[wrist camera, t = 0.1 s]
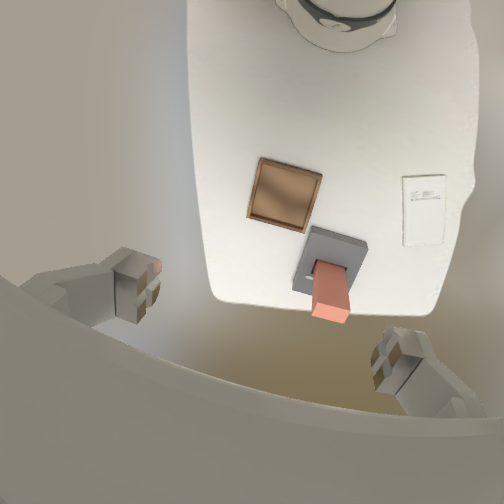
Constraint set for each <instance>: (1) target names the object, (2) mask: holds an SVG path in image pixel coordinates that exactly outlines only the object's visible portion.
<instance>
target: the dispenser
mask: <svg viewBox="0 0 504 504" xmlns="http://www.w3.org/2000/svg"><path fill="white" fill-rule="evenodd" d="M367 251H368V246H367V243H366V242H364V241H361V240H357V239H354V238H351V237H348V236H344V235H341V234H338V233H335V232H331V231H328V230H325V229H321V228H318V227H314V226H312V228H311V231H310V234H309V237H308V240H307V243H306V246H305V249H304V252H303V255H302V258H301V261H300V264H299V267H298V269H297V272H296V275H295V278H294V281H293V286H292V290H294V291H298V292H301V293H305V294H308V295H313V266H314V263H315V260H316V259H319V260H323V261H326V262H329V263H333V264H336V265H340V266H343V267H345V272H346V279H347V287H348V292H349V290H350V288H351V286H352V284H353V282H354V280H355V278H356V276H357V273H358V271H359V269H360V267H361V265H362V262H363V260H364V258H365V256H366V254H367Z"/></svg>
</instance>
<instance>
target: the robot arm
mask: <svg viewBox="0 0 504 504" xmlns="http://www.w3.org/2000/svg"><path fill="white" fill-rule="evenodd" d="M275 1H276V4H277V5H278V6H279V7H280V8H281V9H283V10H284V11H285V12H286V13H287V14H288V15H289V16H290V18H291V20H292V22H293V24H294V26H295V28H296V29H297V30H298V32H299V33H300V34H301V35H302V36H303V37H304V38H305V39H307V40H308V41H309V42H311V43H313V44H314V45H316V46H318V47H321V48H323V49H326V50H330V51H335V52H353V51H357V50H361V49H363V48H365V47H367V46H369V45H370V44H372V43H373V42H375V41H376V40H378V39H380V38H387V37H391V36H393V35H395V33H396V32H397V17H396V0H275ZM161 267H162V262H161V260H160V259H158V258H155V257H152V256H149V255H146V254H143V253H141V252H138V251H135V250H133V249H129V248H126V247H121V248H120V249H118V250H117V251H116V252H114V253H113V254H111V255H110V256H109V257H107V258H106V259H105V260H103V261H102V262H101V263H99V264H95V263H93V264H87V265H82V266H77V267H71V268H65V269H60V270H54V271H49V272H43V273H39V274H36V275H35V276H33V277H32V278H30V279H29V280H28V281H26V282H25V283H24V284H22V285H21V286H19V287H17V286H16V285H14V284H13V283H11V282H9V281H8V280H6V279H5V278H3V277H2V276H0V504H504V417H496V418H487V416H486V413H485V411H484V408H483V406H482V403H481V401H480V399H479V397H478V396H477V395H476V394H474V392H473V391H472V390H470V389H469V388H468V387H467V386H466V385H465V384H464V383H463V382H462V381H461V380H460V379H459V378H458V377H457V376H456V375H455V374H454V373H453V372H452V371H451V370H449V369H448V368H447V367H446V366H445V365H444V364H443V363H442V362H441V361H438V360H437V358H436V356H435V353H434V351H433V349H432V346H431V344H430V342H429V340H428V338H427V335H426V334H425V333H424V332H419V331H414V330H409V329H404V328H399V327H395V326H388V327H387V328H386V330H385V331H384V333H383V341H381V342H379V343H377V345H376V346H375V348H374V350H373V353H372V356H371V368H372V370H373V371H374V372H375V373H376V374H375V375H374V377H373V380H374V386H375V391H377V392H383V393H388V394H394V395H395V396H396V398H397V399H398V401H399V402H400V404H401V405H402V407H403V408H404V410H405V411H406V413H407V414H408V416H400V415H390V414H381V413H372V412H364V411H358V410H351V409H344V408H339V407H332V406H327V405H322V404H316V403H312V402H307V401H302V400H297V399H293V398H288V397H284V396H280V395H275V394H272V393H267V392H263V391H260V390H256V389H252V388H249V387H245V386H241V385H238V384H235V383H231V382H228V381H225V380H221V379H218V378H215V377H212V376H209V375H206V374H203V373H200V372H197V371H194V370H191V369H188V368H186V367H182V366H180V365H177V364H175V363H172V362H169V361H167V360H164V359H161V358H159V357H156V356H154V355H151V354H148V353H146V352H144V351H141V350H139V349H137V348H134V347H132V346H130V345H127V344H125V343H123V342H120V341H118V340H116V339H114V338H112V337H109V336H107V335H105V334H103V333H101V332H99V331H97V330H95V329H93V328H92V327H94V326H96V325H98V324H101V323H103V322H106V321H108V320H111V319H113V318H115V316H116V317H119V318H121V319H124V320H126V321H129V322H131V323H134V324H138V323H139V321H140V320H141V319H142V318H143V316H144V315H145V314H146V308H148V307H151V306H152V305H153V304H154V303H155V301H156V299H157V297H158V294H159V290H160V280H159V279H158V276H157V275H158V274H159V273H160V272H161Z"/></svg>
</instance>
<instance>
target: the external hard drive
mask: <svg viewBox="0 0 504 504" xmlns="http://www.w3.org/2000/svg"><path fill="white" fill-rule="evenodd" d="M402 195H403V247H413V246H423V245H432V244H441V243H443V242H444V230H445V212H446V175H444V174H443V175H427V176H406V177H402Z"/></svg>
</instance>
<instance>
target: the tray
mask: <svg viewBox="0 0 504 504" xmlns="http://www.w3.org/2000/svg"><path fill="white" fill-rule="evenodd" d="M321 180H322V174H318V173H315V172H311V171H308V170H305V169H301V168H297V167H294V166H290V165H287V164H283V163H279V162H275V161H271V160H267V159H264V158H261V159H260V160H259V163H258V167H257V172H256V176H255V181H254V185H253V190H252V194H251V199H250V203H249V208H248V212H247V217H246V218H250V219H254V220H257V221H261V222H265V223H268V224H272V225H275V226H279V227H282V228H286V229H290V230H293V231H297V232H300V233H303V234H305V231H306V228H307V225H308V222H309V219H310V216H311V213H312V209H313V206H314V203H315V200H316V197H317V193H318V190H319V187H320V183H321Z"/></svg>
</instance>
